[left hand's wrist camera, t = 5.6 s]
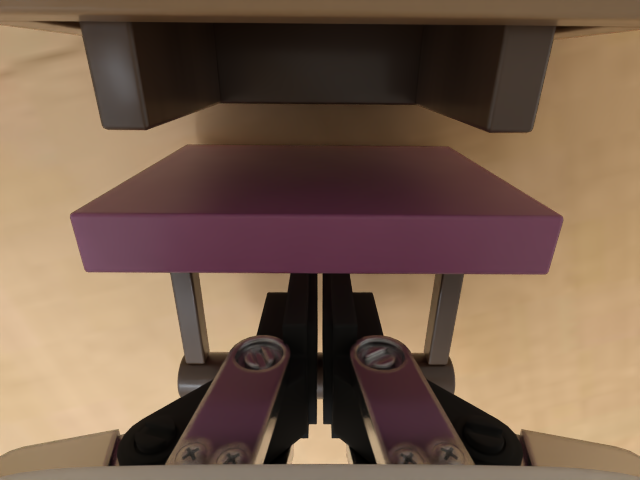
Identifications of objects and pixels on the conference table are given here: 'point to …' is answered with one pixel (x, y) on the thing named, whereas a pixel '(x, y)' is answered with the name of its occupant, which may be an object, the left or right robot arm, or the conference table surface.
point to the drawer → (316, 164)
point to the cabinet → (332, 13)
